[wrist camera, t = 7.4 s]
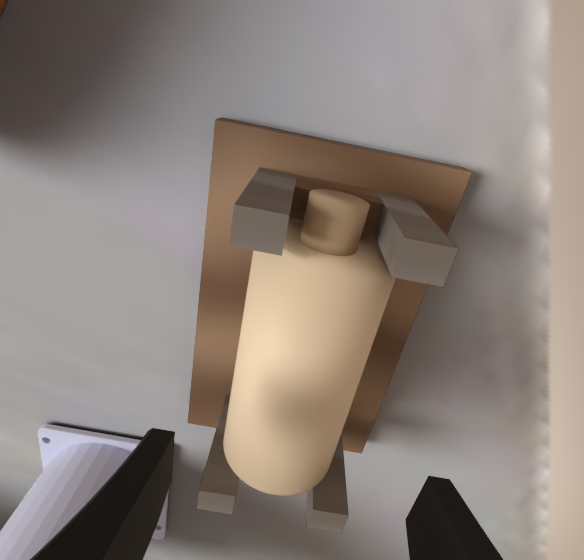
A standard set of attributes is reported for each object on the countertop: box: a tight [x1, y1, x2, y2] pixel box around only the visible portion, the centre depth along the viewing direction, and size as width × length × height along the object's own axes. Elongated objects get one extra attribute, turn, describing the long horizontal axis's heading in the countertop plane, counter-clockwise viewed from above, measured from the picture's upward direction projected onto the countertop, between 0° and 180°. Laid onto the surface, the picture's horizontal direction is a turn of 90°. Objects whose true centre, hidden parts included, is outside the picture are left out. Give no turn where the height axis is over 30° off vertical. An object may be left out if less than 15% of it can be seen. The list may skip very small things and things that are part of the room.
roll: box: [223, 189, 396, 496], centre depth 16 cm, size 13×5×5 cm, turn 169°
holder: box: [188, 118, 472, 533], centre depth 16 cm, size 16×10×6 cm, turn 169°
